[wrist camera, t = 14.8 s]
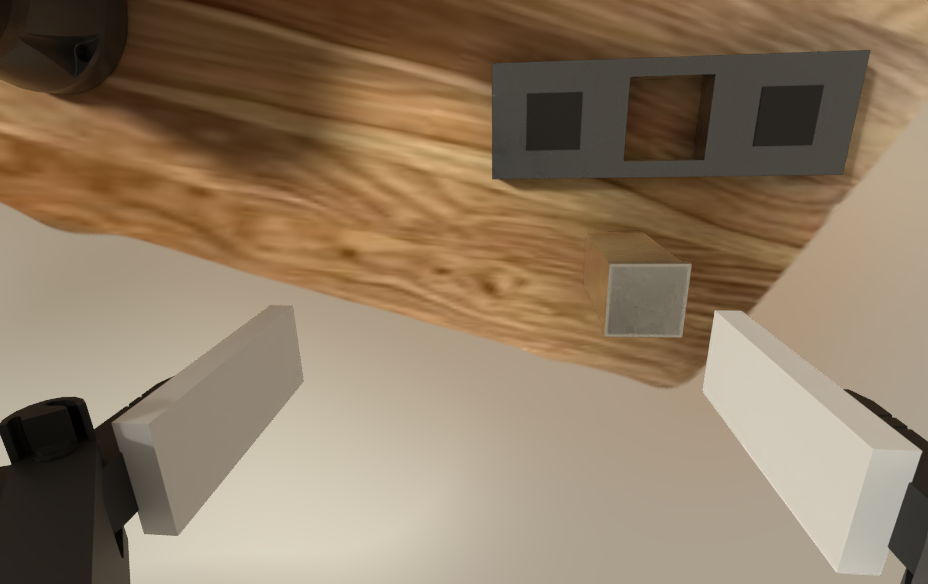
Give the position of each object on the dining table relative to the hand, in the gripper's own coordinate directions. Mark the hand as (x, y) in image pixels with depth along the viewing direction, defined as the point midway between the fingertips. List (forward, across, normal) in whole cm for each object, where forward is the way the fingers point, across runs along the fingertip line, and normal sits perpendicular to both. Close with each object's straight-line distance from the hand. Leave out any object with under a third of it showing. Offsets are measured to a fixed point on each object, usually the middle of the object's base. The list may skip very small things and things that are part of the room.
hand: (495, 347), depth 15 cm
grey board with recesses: (+31, +13, +7) cm, 34 cm away
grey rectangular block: (+31, +10, -5) cm, 33 cm away
